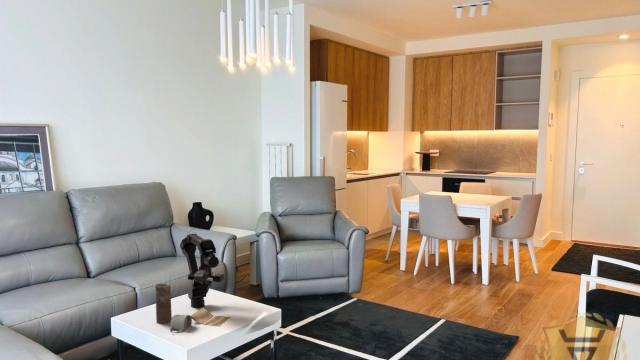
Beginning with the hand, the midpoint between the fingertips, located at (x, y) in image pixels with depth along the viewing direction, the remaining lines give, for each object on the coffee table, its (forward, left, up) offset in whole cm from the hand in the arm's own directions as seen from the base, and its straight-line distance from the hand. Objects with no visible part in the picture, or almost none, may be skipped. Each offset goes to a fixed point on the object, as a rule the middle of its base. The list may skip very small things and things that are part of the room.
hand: (206, 292), depth 249 cm
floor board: (+10, -8, -12) cm, 18 cm away
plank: (+2, -8, -10) cm, 13 cm away
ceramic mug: (-2, -22, -12) cm, 26 cm away
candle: (-15, -16, -12) cm, 25 cm away
